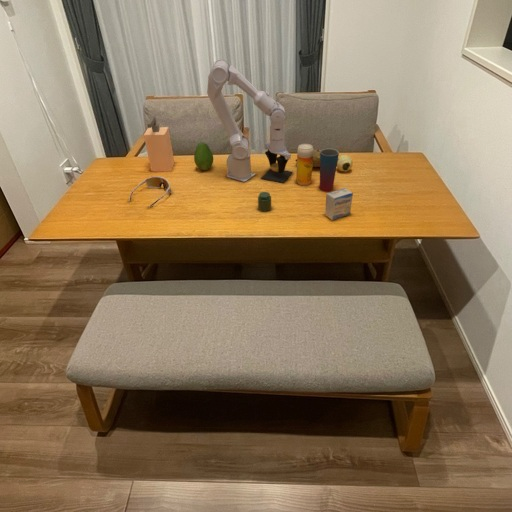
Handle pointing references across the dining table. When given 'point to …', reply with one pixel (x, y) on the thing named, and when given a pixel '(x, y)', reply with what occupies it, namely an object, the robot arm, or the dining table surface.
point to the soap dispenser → (159, 147)
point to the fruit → (203, 156)
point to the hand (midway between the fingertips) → (277, 170)
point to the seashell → (315, 158)
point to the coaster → (277, 176)
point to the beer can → (304, 164)
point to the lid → (274, 167)
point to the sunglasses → (155, 185)
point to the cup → (328, 168)
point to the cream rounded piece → (344, 163)
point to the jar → (264, 201)
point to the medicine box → (338, 203)
